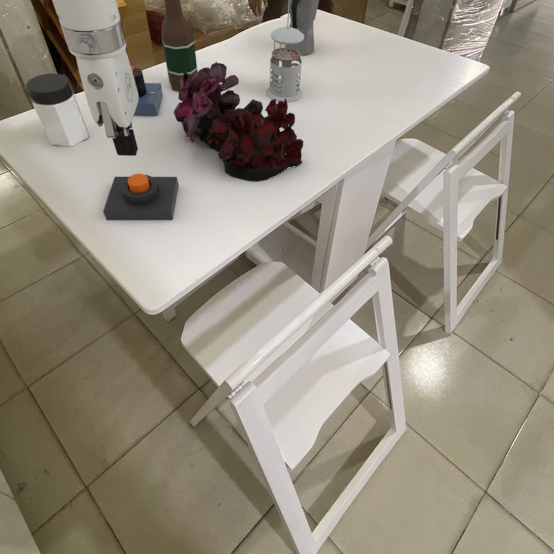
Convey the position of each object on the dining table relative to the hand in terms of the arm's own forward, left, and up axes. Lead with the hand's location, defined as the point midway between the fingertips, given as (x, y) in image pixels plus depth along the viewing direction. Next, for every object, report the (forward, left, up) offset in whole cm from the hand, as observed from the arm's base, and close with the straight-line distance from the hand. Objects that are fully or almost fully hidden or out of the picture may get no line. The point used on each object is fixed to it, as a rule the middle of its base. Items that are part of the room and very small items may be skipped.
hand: (128, 152), depth 68 cm
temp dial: (-7, +36, -8) cm, 37 cm away
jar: (-20, +22, -11) cm, 31 cm away
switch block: (0, 0, -11) cm, 11 cm away
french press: (+29, +44, -11) cm, 54 cm away
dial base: (-8, +36, -11) cm, 38 cm away
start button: (0, 0, -7) cm, 7 cm away
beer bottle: (+3, +46, -11) cm, 47 cm away
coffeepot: (+35, +69, -11) cm, 78 cm away
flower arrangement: (+17, +19, -11) cm, 28 cm away
